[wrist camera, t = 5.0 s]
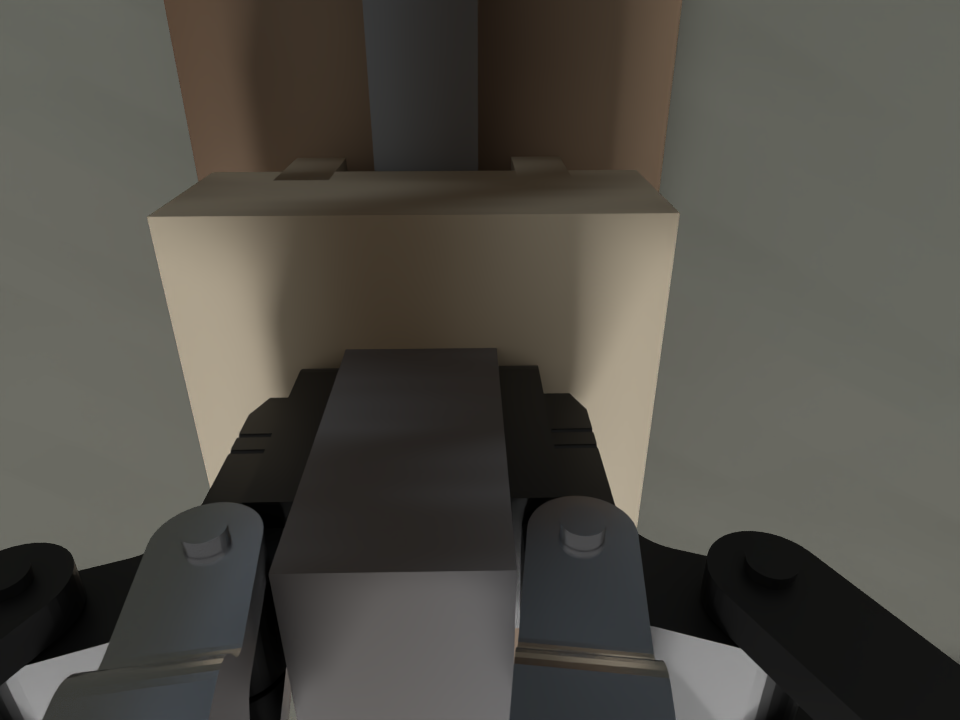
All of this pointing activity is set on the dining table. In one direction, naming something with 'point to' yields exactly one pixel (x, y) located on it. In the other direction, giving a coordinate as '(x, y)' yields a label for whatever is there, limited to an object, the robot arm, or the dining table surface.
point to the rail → (327, 91)
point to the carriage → (414, 392)
